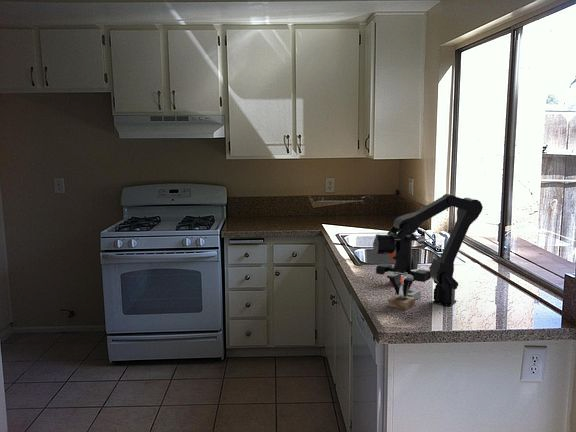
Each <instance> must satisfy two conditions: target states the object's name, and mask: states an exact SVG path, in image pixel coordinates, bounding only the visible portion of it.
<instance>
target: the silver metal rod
mask: <svg viewBox="0 0 576 432" xmlns="http://www.w3.org/2000/svg"><path fill="white" fill-rule="evenodd" d="M398 300H403V301H405V297H404V283H399V296H398Z"/></svg>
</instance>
